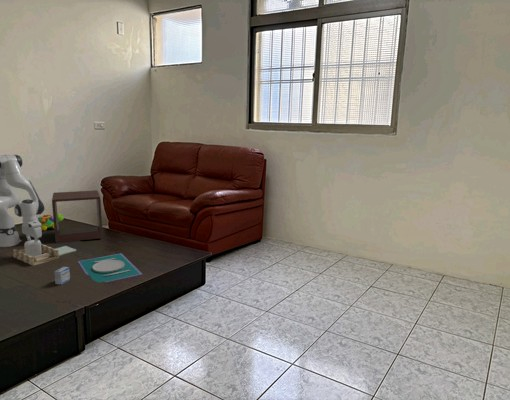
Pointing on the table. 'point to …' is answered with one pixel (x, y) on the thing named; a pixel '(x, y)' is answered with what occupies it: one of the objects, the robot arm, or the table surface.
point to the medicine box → (62, 275)
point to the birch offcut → (41, 257)
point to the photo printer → (33, 248)
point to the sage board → (65, 250)
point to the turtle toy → (48, 221)
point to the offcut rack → (30, 259)
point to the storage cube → (82, 232)
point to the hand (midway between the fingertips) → (32, 241)
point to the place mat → (109, 268)
